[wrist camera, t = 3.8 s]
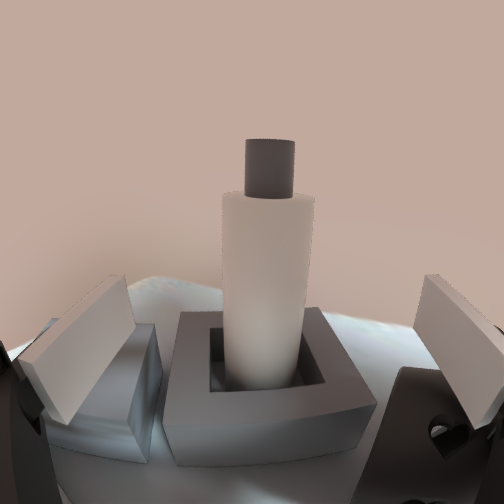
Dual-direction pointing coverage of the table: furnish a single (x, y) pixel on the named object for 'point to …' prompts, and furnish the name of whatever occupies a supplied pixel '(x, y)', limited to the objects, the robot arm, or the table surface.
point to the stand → (116, 404)
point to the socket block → (262, 400)
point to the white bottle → (265, 269)
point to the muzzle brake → (425, 446)
